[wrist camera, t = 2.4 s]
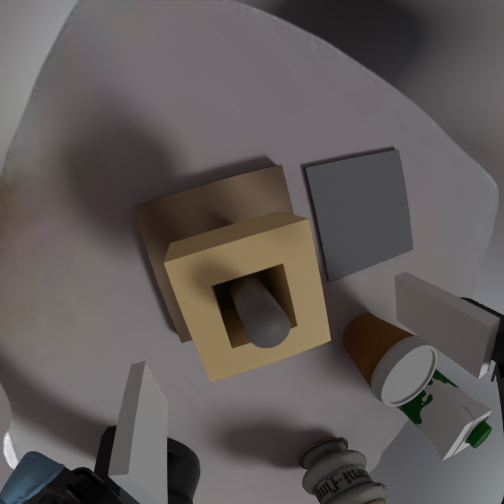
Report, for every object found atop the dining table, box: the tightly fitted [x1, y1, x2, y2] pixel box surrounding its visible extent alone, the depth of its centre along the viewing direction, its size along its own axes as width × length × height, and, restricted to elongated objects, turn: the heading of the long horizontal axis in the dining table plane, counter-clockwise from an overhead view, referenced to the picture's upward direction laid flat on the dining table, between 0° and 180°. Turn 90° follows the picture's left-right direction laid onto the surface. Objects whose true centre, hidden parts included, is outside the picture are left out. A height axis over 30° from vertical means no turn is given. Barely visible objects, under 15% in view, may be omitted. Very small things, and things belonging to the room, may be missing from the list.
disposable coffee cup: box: [343, 314, 438, 407], centre depth 34 cm, size 10×10×12 cm
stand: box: [133, 165, 294, 348], centre depth 24 cm, size 16×16×18 cm
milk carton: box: [397, 369, 492, 461], centre depth 35 cm, size 9×9×20 cm
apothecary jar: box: [299, 437, 387, 504], centre depth 36 cm, size 12×12×18 cm
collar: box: [164, 211, 331, 382], centre depth 21 cm, size 9×9×6 cm
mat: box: [304, 150, 413, 282], centre depth 35 cm, size 14×14×1 cm
